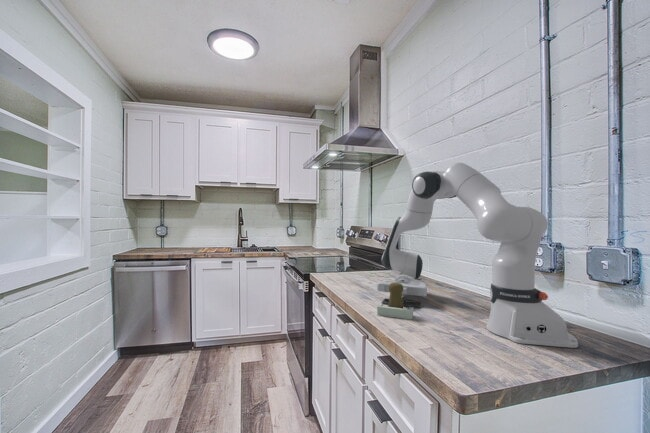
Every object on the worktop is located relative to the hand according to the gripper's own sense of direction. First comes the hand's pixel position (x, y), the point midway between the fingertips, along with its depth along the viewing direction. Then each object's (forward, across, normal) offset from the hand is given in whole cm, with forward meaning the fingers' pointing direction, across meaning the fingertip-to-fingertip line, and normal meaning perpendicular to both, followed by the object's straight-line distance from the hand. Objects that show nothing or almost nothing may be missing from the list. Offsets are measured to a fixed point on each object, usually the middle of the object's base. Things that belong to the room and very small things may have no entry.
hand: (399, 292), depth 115 cm
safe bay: (+11, 0, +6) cm, 13 cm away
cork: (+8, 0, +6) cm, 10 cm away
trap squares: (-5, 0, +6) cm, 7 cm away
